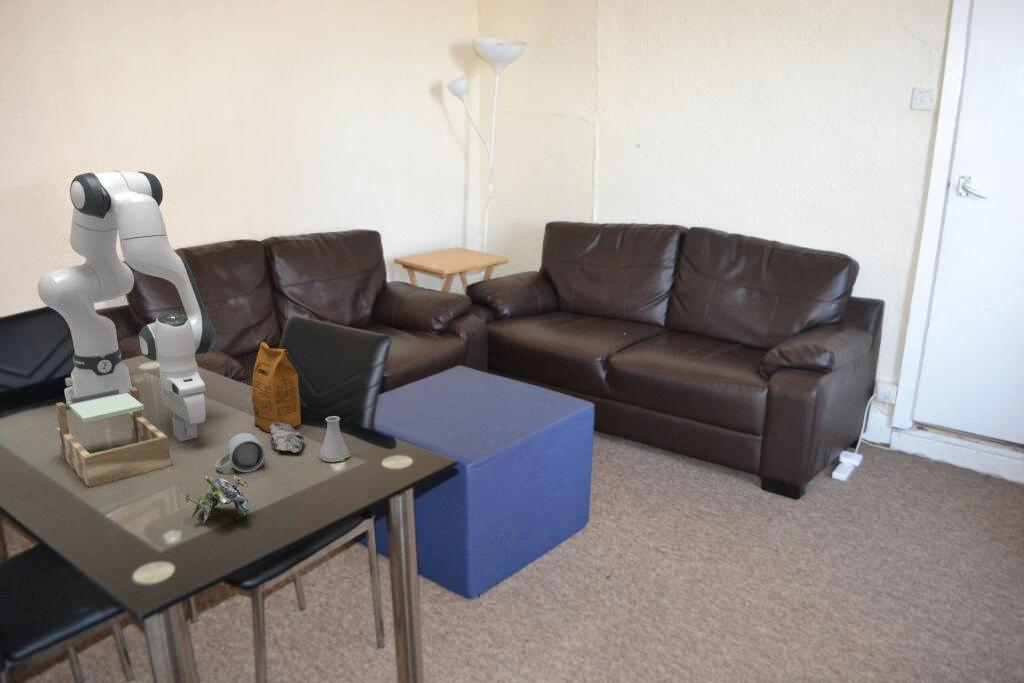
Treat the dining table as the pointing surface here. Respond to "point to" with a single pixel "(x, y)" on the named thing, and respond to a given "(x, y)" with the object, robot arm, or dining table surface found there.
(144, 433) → the trapdoor frame
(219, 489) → the passion flower
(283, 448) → the mineral rock
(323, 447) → the flask
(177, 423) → the light grey block
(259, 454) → the ceramic mug
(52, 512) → the dining table surface
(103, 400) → the trapdoor
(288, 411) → the coffee package
